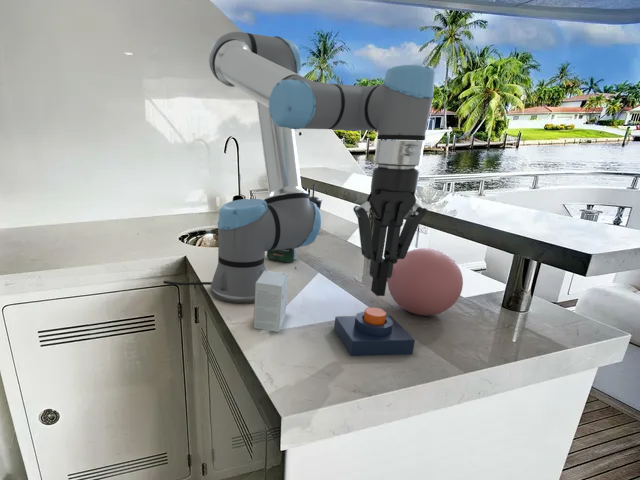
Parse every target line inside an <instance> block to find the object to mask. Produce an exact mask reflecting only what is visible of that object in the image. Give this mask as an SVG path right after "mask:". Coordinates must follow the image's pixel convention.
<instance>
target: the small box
mask: <svg viewBox="0 0 640 480" xmlns="http://www.w3.org/2000/svg"><path fill="white" fill-rule="evenodd" d="M288 285H289V273H288V272H280V271H272V270H266V271H265V270H264V271H263V273H262V274H261V276H260V277H259V279H258V280H257V282H256V283H255V302H254V310H253V311H254V312H253V313H254V314H253V329H256V330H263V331H269V332H275V333H279V332H280V330H281V327H282V325H283V322H284V320H285V317H286V312H287V299H288V287H289V286H288Z"/></svg>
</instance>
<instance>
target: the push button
mask: <svg viewBox="0 0 640 480" xmlns="http://www.w3.org/2000/svg"><path fill="white" fill-rule="evenodd" d="M364 312H365V311H361V312H358V313H357V314H356V315H354V316H353V315H349V316H348V315H347V316H335V317H334V323H333V324H334V326H333V331H334V333H335V334H336V336H337V337H338V339H339V340H340V342H341V343H342V345H343V347H344V348H345V349H346V352H347V353H348V354H349V356H350V357H367V356H405V355H413V351H414V346H415V341H416V339H415V338H414V337H413V336H412V335H411V334H410V333H409V332H408V331H407V330H406V329H405V328H404V327H402V325H401V324H400V323H399V322H398V321H397V320H396V319H395V318H394V317H393V316H392V315H386V319H385V324H383V325H374V324H369V323H367V322H365V321H364V320H363V319H364Z"/></svg>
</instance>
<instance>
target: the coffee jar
mask: <svg viewBox="0 0 640 480" xmlns="http://www.w3.org/2000/svg"><path fill="white" fill-rule="evenodd" d="M266 258H267V259H269V260H272V261H277V262H283V263H290V262H294V261H296V259H297V258H298V248H288V249H279V250H271V251H266Z"/></svg>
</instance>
